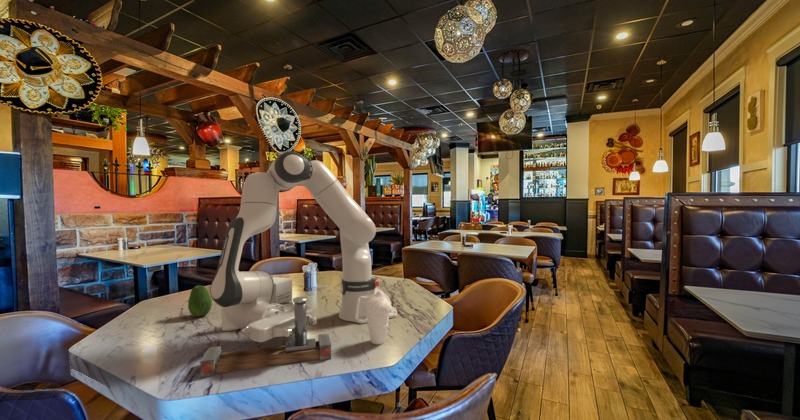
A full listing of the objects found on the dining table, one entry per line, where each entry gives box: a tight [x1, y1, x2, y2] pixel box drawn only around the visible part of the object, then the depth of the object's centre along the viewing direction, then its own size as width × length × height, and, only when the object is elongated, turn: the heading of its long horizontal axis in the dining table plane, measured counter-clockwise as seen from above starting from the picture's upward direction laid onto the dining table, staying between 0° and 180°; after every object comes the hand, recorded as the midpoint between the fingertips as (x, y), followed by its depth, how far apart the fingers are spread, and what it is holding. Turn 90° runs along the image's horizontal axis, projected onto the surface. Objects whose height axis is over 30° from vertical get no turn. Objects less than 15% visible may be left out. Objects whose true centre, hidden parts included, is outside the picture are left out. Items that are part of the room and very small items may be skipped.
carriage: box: [285, 296, 316, 353], centre depth 92 cm, size 8×4×15 cm, turn 107°
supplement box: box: [270, 276, 293, 304], centre depth 122 cm, size 9×9×15 cm
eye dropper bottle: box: [221, 307, 240, 332], centre depth 113 cm, size 4×6×12 cm
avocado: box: [187, 284, 213, 317], centre depth 127 cm, size 8×8×12 cm
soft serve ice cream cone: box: [364, 290, 392, 345], centre depth 102 cm, size 8×8×16 cm
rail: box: [199, 333, 332, 378], centre depth 90 cm, size 32×8×4 cm, turn 107°
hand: (303, 327), depth 92 cm, fingers open, 8 cm apart
